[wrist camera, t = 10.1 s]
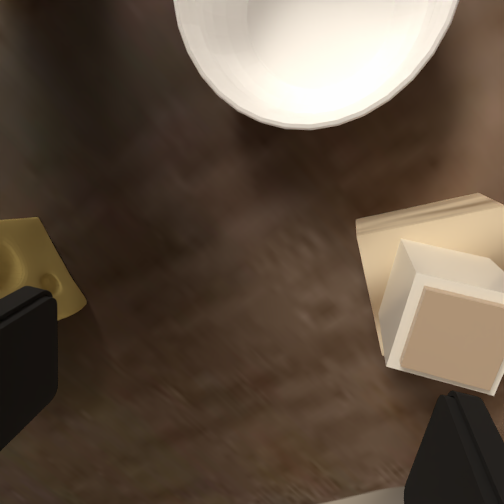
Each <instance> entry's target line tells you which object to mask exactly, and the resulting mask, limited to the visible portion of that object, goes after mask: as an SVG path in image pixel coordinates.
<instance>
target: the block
mask: <svg viewBox="0 0 504 504" xmlns="http://www.w3.org/2000/svg"><path fill="white" fill-rule="evenodd" d="M356 235H357V241H358V245H359V250H360V255H361V259H362V264H363V269H364V273H365V278H366V283H367V287H368V292H369V297H370V301H371V306H372V311H373V315H374V320H375V324H376V329H377V334H378V338H379V343H380V348H381V352H382V356H384V349H383V342H382V335H381V328H380V321H379V314H378V313H379V309H380V306H381V303H382V299H383V296H384V293H385V289H386V286H387V283H388V279H389V276H390V273H391V269H392V266H393V263H394V259H395V256H396V253H397V249H398V246H399V243H400V239H405V240H410V241H414V242H419V243H423V244H428V245H432V246H437V247H441V248H446V249H450V250H455V251H459V252H464V253H468V254H473V255H478V256H482V257H487V258H490V259H491V260H492V261H493V262H494V263H495V264H496V265H497V266H498V267H499V268H501V269H502V270H503V271H504V205H503V204H501V203H499V202H497V201H494V200H492V199H490V198H488V197H486V196H484V195H482V194H480V193H476V194H471V195H466V196H462V197H457V198H452V199H448V200H443V201H438V202H434V203H429V204H424V205H420V206H415V207H410V208H406V209H401V210H396V211H392V212H387V213H382V214H378V215H373V216H368V217H364V218H359V219H356Z"/></svg>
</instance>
